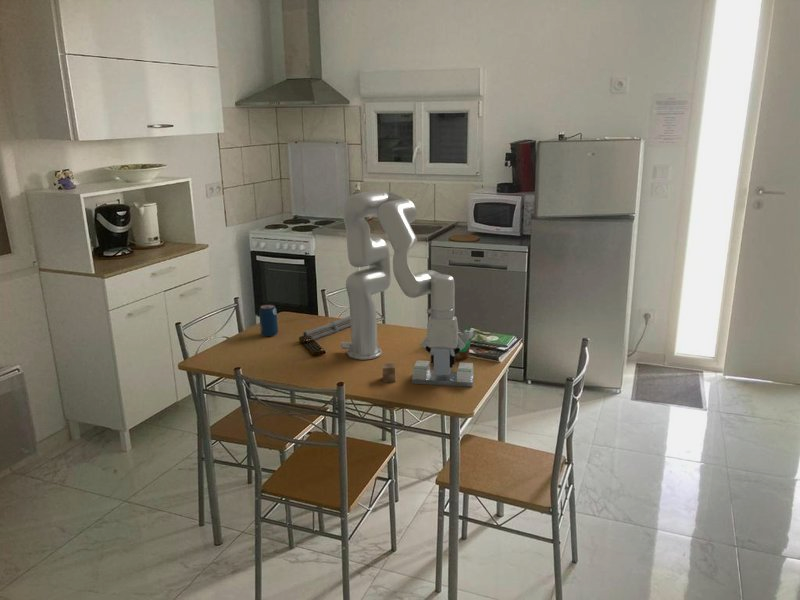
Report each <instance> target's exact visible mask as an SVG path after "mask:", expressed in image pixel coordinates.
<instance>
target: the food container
mask: <svg viewBox="0 0 800 600" xmlns="http://www.w3.org/2000/svg"><path fill="white" fill-rule="evenodd" d="M458 334H459V337H460V339H461V340H462V341H463V342H464V344H465V348H463V349H462V350H460V351H459V352H458V353H457V354H456V355H455V362H456V361H457V362H459V361H465V360H467V359H468V358H469V357H470V351H471V350H470V348H471V341H472V338H473V336H474V333H473V329H471V330H470V331H459V330H458ZM458 346H460V345H459V343H458ZM458 346H457V347H458ZM457 347H456V348H457ZM456 348H455V349H456ZM468 356H469V357H468Z"/></svg>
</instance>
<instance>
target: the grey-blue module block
mask: <svg viewBox="0 0 800 600" xmlns="http://www.w3.org/2000/svg"><path fill="white" fill-rule="evenodd" d="M450 355H451V352H450V349H449V348H434V367H433V371H434V374H436V375H449V374H450V372H452V371H451V370H452V368H450Z"/></svg>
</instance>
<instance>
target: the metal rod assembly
mask: <svg viewBox="0 0 800 600" xmlns="http://www.w3.org/2000/svg"><path fill="white" fill-rule="evenodd" d="M348 328H351V321H350V316H346V317H344V318H341V319H337V320H333V321H330V322H329V323H326V324H323V325H321V326H317V327H315V328H312V329H310V330H307V331H304V332H303V337H304V338H306V337H305V336H307V337H310V336H311V337H312V338H313V339H315V340H319V339H321V338H323V337H327V336H328V335H329V336H330V335H333V334H336V333H338V332H341V331H342V330H345V329H348ZM315 340H314V341H315Z"/></svg>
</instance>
